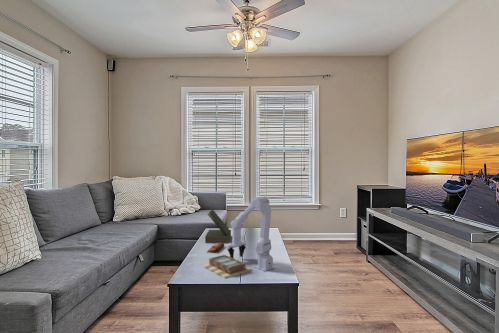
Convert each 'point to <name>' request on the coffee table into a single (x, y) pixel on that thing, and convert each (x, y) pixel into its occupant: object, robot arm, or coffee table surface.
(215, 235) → the green open lidded box
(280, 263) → the coffee table surface
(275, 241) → the coffee table surface
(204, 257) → the coffee table surface
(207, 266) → the birch board
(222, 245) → the sweet potato
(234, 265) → the tan cardboard box
